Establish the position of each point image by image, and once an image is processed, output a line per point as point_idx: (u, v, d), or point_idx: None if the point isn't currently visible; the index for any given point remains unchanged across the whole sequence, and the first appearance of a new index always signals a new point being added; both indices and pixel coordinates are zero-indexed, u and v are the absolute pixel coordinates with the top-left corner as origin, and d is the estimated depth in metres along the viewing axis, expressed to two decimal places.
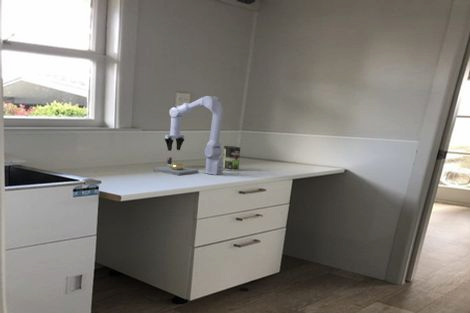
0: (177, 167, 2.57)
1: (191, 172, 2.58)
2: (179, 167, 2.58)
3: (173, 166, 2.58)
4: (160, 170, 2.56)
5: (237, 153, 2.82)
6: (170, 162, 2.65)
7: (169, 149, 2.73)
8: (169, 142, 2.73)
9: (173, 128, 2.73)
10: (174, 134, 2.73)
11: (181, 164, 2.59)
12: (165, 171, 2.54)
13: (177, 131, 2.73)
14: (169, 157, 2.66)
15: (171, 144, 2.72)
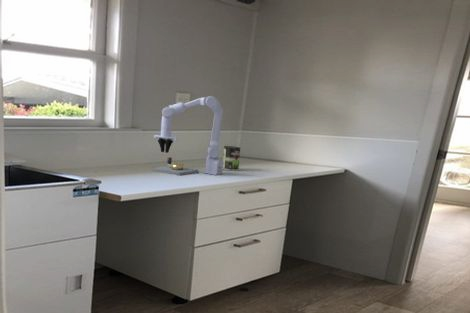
0: (177, 167, 2.57)
1: (191, 172, 2.58)
2: (179, 167, 2.58)
3: (173, 166, 2.58)
4: (160, 170, 2.56)
5: (237, 153, 2.82)
6: (170, 162, 2.65)
7: None
8: None
9: None
10: None
11: (181, 164, 2.59)
12: (165, 171, 2.54)
13: (162, 131, 2.57)
14: (169, 157, 2.66)
15: (160, 145, 2.59)
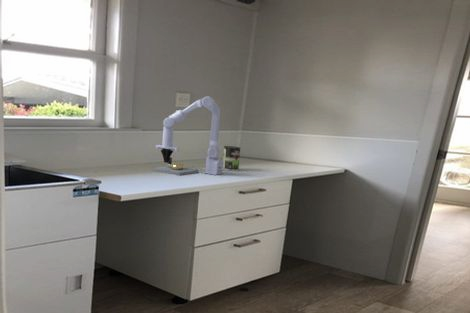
0: (177, 167, 2.57)
1: (191, 172, 2.58)
2: (179, 167, 2.58)
3: (173, 166, 2.58)
4: (160, 170, 2.56)
5: (237, 153, 2.82)
6: (170, 162, 2.65)
7: None
8: None
9: None
10: (162, 145, 2.62)
11: (181, 164, 2.59)
12: (165, 171, 2.54)
13: (163, 142, 2.60)
14: None
15: (163, 155, 2.62)
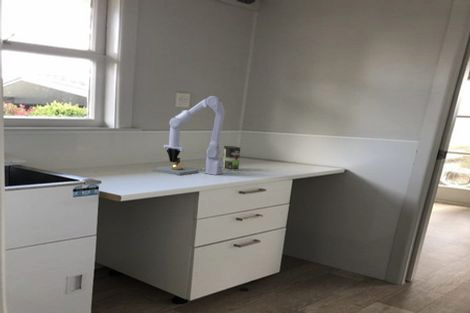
0: (174, 166, 2.58)
1: (191, 172, 2.58)
2: (175, 167, 2.57)
3: None
4: (160, 170, 2.56)
5: (237, 153, 2.82)
6: (177, 162, 2.67)
7: None
8: None
9: None
10: (169, 144, 2.66)
11: (178, 164, 2.58)
12: (165, 171, 2.54)
13: (169, 141, 2.64)
14: None
15: (169, 155, 2.66)
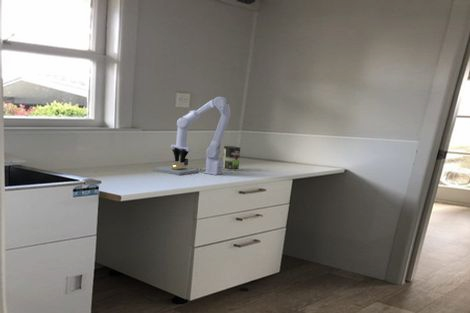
0: (172, 166, 2.59)
1: (191, 172, 2.58)
2: (173, 166, 2.58)
3: None
4: (160, 170, 2.56)
5: (237, 153, 2.82)
6: (184, 163, 2.66)
7: None
8: None
9: None
10: (176, 144, 2.67)
11: (176, 164, 2.58)
12: (165, 171, 2.54)
13: (176, 141, 2.65)
14: None
15: (174, 154, 2.67)
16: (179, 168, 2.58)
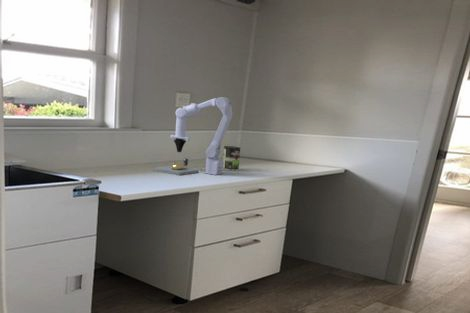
0: (172, 166, 2.59)
1: (191, 172, 2.58)
2: (173, 166, 2.58)
3: None
4: (160, 170, 2.56)
5: (237, 153, 2.82)
6: (184, 163, 2.66)
7: None
8: None
9: None
10: (175, 134, 2.67)
11: (176, 164, 2.58)
12: (165, 171, 2.54)
13: (176, 131, 2.65)
14: (186, 158, 2.67)
15: (176, 145, 2.67)
16: (179, 168, 2.58)
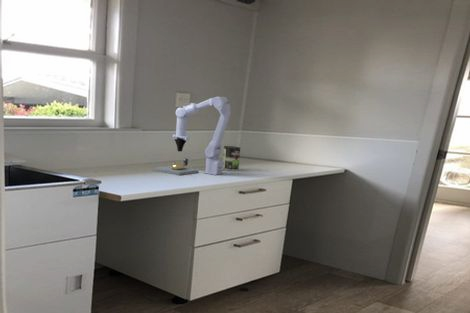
0: (172, 166, 2.59)
1: (191, 172, 2.58)
2: (173, 166, 2.58)
3: None
4: (160, 170, 2.56)
5: (237, 153, 2.82)
6: (184, 163, 2.66)
7: None
8: None
9: None
10: None
11: (176, 164, 2.58)
12: (165, 171, 2.54)
13: (176, 131, 2.69)
14: (186, 158, 2.67)
15: (176, 144, 2.71)
16: (179, 168, 2.58)
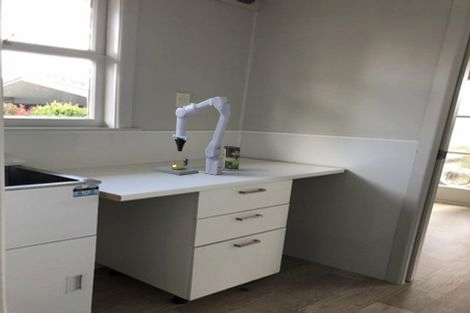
0: (172, 166, 2.59)
1: (191, 172, 2.58)
2: (173, 166, 2.58)
3: None
4: (160, 170, 2.56)
5: (237, 153, 2.82)
6: (184, 163, 2.66)
7: None
8: None
9: None
10: None
11: (176, 164, 2.58)
12: (165, 171, 2.54)
13: (176, 131, 2.69)
14: (186, 158, 2.67)
15: (176, 144, 2.71)
16: (179, 168, 2.58)
